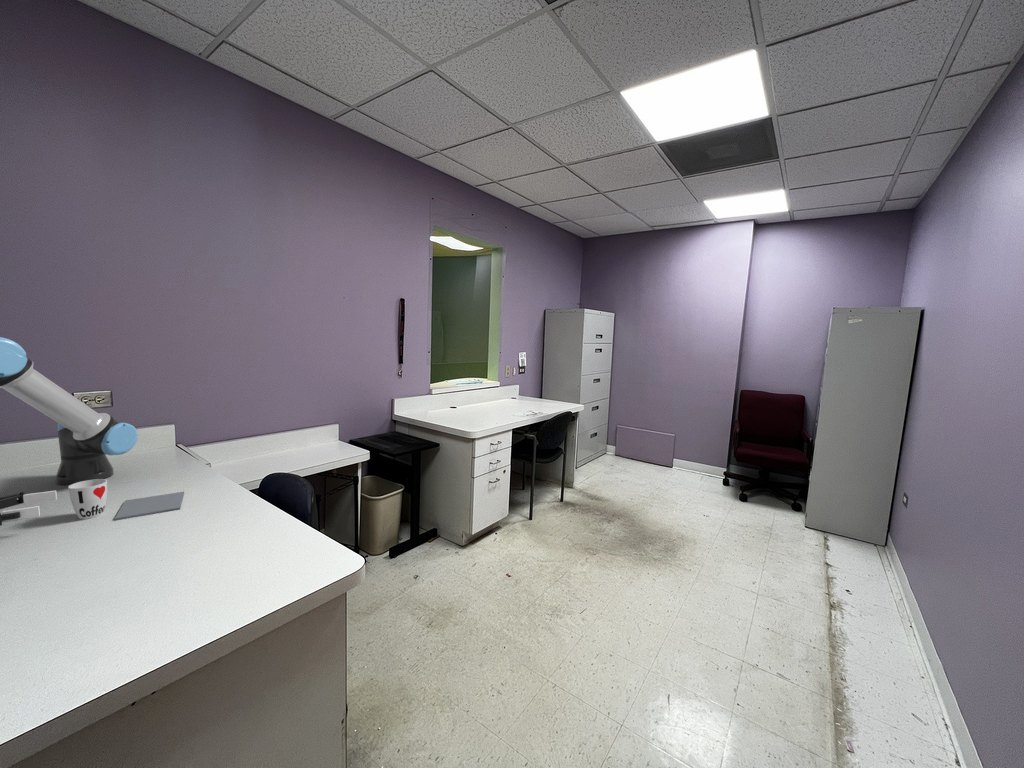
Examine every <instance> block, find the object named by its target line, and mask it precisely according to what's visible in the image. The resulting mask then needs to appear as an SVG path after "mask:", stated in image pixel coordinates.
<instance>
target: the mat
mask: <svg viewBox="0 0 1024 768" xmlns="http://www.w3.org/2000/svg"><path fill="white" fill-rule="evenodd" d="M184 496H185V491H179V492H172V493H167V494H165V493H164V494H159V495H151V496H145V497H140V498H139V497H138V498H133V499H132V498H131V499H127V500H124V502H123V504H122V505H121V507H120V508H119V510H118V512H117V514H116V515H115V517H114V521H120V520H125V519H133V518H137V517H143V516H151V515H155V514H160V513H167V512H172V511H173V512H174V511H178V510H179V511H180V510H181V508H182V503H183V498H184Z"/></svg>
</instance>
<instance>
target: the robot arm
mask: <svg viewBox="0 0 1024 768" xmlns="http://www.w3.org/2000/svg"><path fill="white" fill-rule="evenodd" d="M0 389H3V390H5V391H6V392H8V393H10V394H11V395H12V396H14V397H15V398H17V399H20V401H23V402H24V403H26V404H27V405H28V406H30V407H32V408H34V409H35V410H37V411H39V412H40V413H42V414H43V415H45V416H47V417H48V418H49V419H52V420H53V421H55V422H56V423H57V430H56V433H57V437H58V445H59V453H60V455H59V456H60V463H59V467H58V469H57V472H56V474H55V484H57V485H63V486H65V485H66V486H70V485H72V484H74V483H78V482H82V481H87V480H94V479H107V478H108V479H109V478H110V477H112V476H113V475H114V473H115V472H114V467H113V465H112V463H111V462H110V460H109V459H108V457H107V456H120V455H124V454H126V453H128V452H129V451H131V450H132V449H133V447H135V445H136V443H137V442H138V435H139V433H138V430H137V428H136V427H135V426H134V425H132V424H130V423H128V422H120V421H119V420H117V419H116V418H114V416H113V415H112V416H111V415H110V414H108V413H106V412H100V413H98V412H97V411H95V410H94V409H93V408H92V407H90V406H88V405H87V404H85V403H84V402H82V400H80V399H78V398H76V397H75V396H74V395H72V394H71V393H69V391H66V390H65V389H64V388H62V387H61V386H59V384H58V385H57V384H56V383H55V382H53V381H52V380H50V379H49V378H48V377H46V376H44V375H43V374H42V373H40V372H39V371H37V370H36V369H34V361H33V360H32V359H30V358H28V357H27V353H26V350H25V349H24V348H23V346H21V345H20V344H19V343H17V342H16V341H14V340H11V339H9V338H6V337H2V336H0ZM57 500H58V495H57V490H56V489H55V490H50V491H42V492H34V493H33V492H32V493H27V494H25V491H20V492H19V493H14V494H9V495H5V496H4V495H3V496H0V510H3V509H7V508H10V507H11V508H12V507H14V506H17V505H23V504H24V505H30V504H34V503H35V504H36V503H44V502H49V501H50V502H51V501H57ZM40 511H41V509H40V505H36V506H30V507H29V506H28V507H23V508H16V509H8V510H3V511H2V512H0V526H3V523H5V522H11V521H19V520H26V519H30V518H37V517H40V516H41V512H40Z"/></svg>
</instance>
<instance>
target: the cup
mask: <svg viewBox="0 0 1024 768" xmlns="http://www.w3.org/2000/svg"><path fill="white" fill-rule="evenodd" d="M67 486H68V488H67V489H68V494H69V499H70V502H71V505H72V508H73V510H74V512H75V514H76V515H77V517H78V518H79V520H90V519H94V518H97V517H101V516H102V515H103V514H104V511H105V508H106V504H107V497H108V480H107V478H105V479H94V480H87V481H82V482H78V483H74V484H72V485H67Z"/></svg>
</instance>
